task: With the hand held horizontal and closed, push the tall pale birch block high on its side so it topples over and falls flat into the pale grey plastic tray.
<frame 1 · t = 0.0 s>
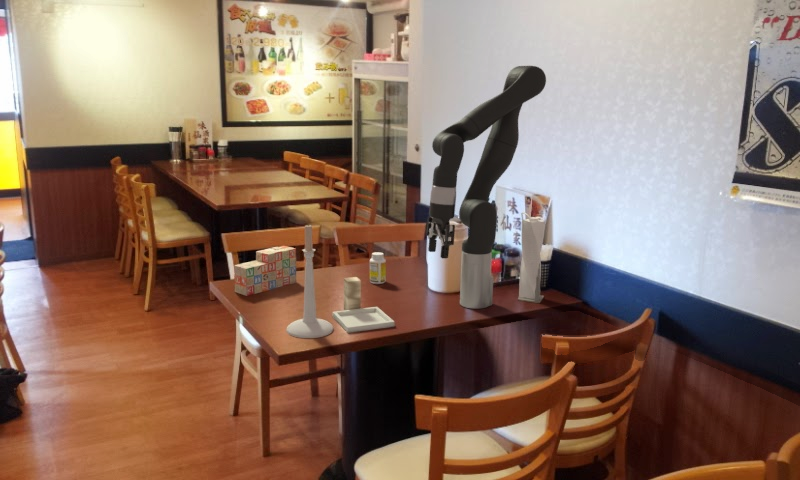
hand: (437, 254, 203), 17 cm above the table, tool pointing down, fingers open, 8 cm apart
skyscraper: (528, 298, 220), on the table
tray: (362, 321, 195), on the table
candlestick: (310, 330, 188), on the table
supplement bottle: (377, 282, 234), on the table
block: (352, 311, 204), on the table
stack of blocks: (266, 288, 227), on the table
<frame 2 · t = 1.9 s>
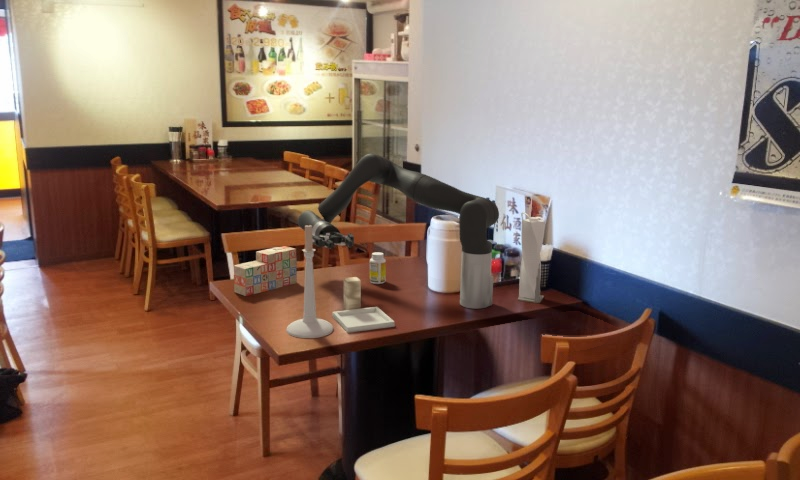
hand: (341, 245, 209), 18 cm above the table, tool horizontal, fingers open, 5 cm apart
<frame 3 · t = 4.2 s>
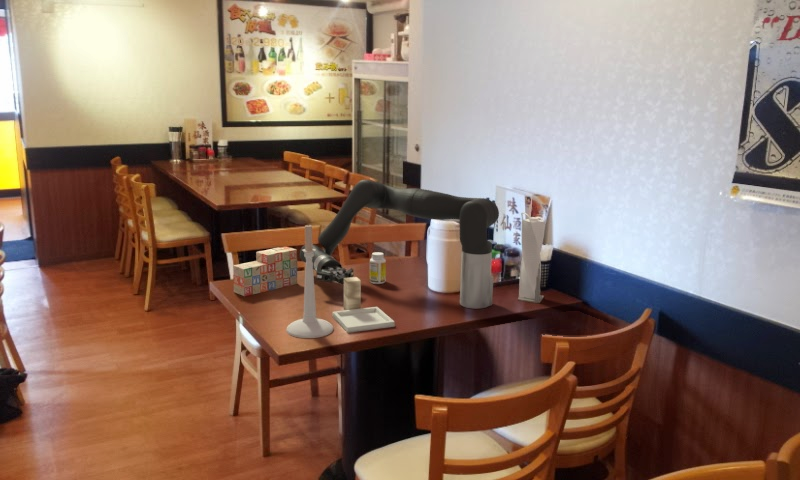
hand: (343, 281, 210), 7 cm above the table, tool horizontal, fingers closed
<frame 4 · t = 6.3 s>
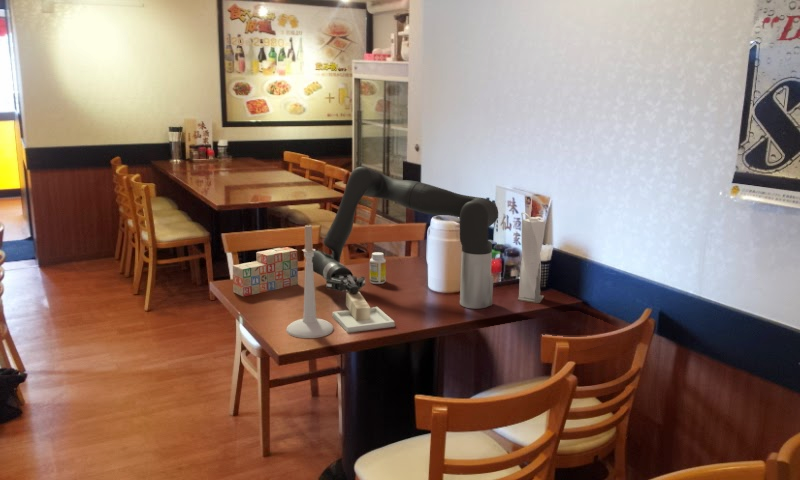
hand: (355, 290, 200), 7 cm above the table, tool horizontal, fingers closed
block: (352, 298, 203), point 4 cm above the table, tilted 100°, touching tray
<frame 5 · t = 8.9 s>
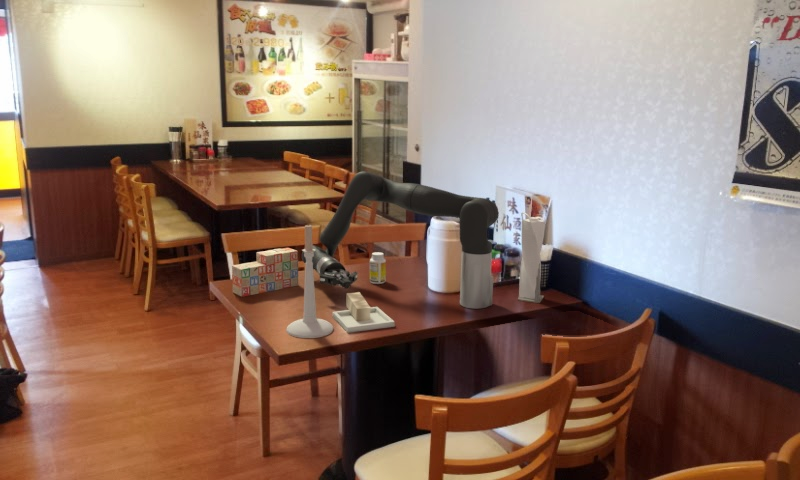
hand: (347, 285, 205), 7 cm above the table, tool horizontal, fingers closed
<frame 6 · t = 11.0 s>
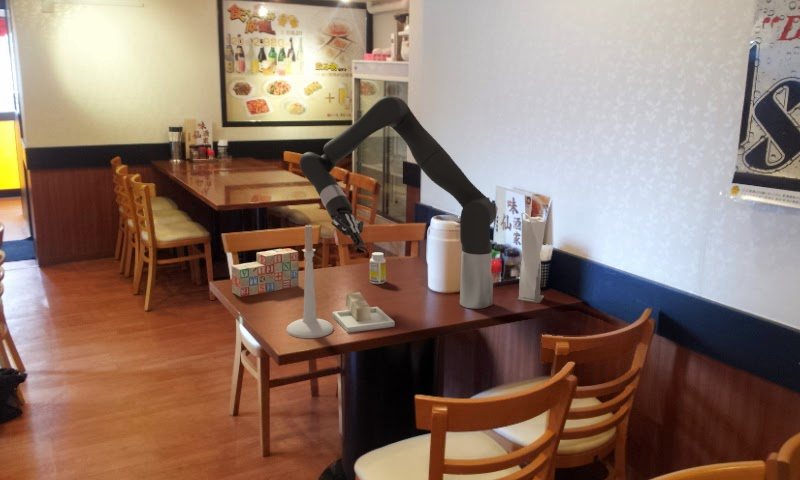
hand: (360, 244, 206), 19 cm above the table, tool tilted 50°, fingers closed
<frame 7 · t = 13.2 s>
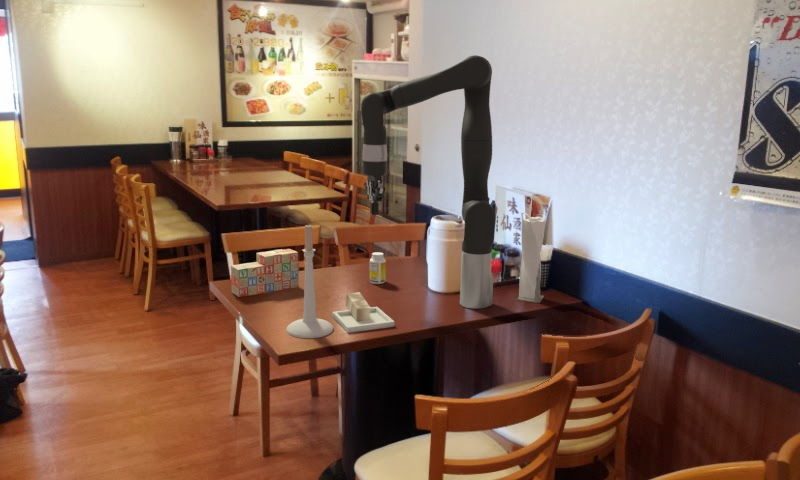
hand: (374, 214, 212), 27 cm above the table, tool pointing down, fingers closed
at the end: block tilted 100°; block inside the target area on the tray (7.7 cm from its centre), point 4.1 cm above the tray's base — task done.
